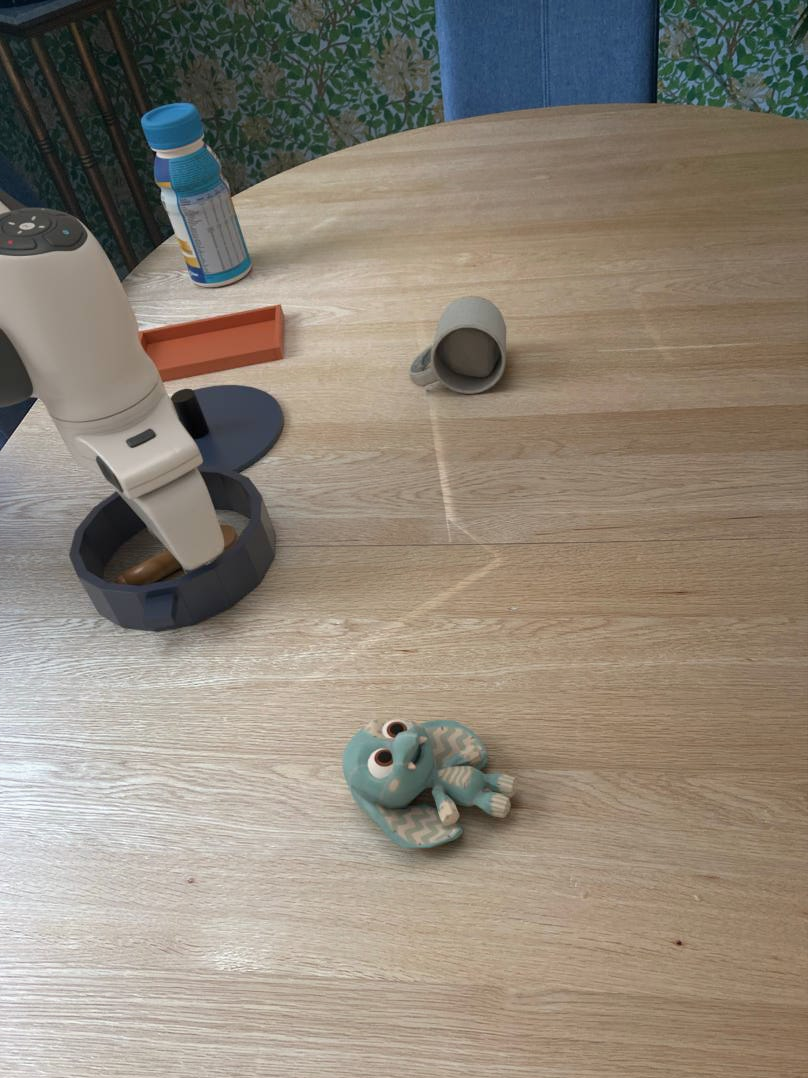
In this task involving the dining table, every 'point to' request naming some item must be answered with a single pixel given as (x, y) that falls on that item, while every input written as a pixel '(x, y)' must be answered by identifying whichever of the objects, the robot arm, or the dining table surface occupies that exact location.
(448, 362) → the ceramic mug
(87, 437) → the robot arm
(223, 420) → the lid
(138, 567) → the spoon
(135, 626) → the pot
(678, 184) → the dining table surface
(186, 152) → the beverage bottle
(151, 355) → the tray
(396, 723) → the stuffed animal
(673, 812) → the dining table surface
